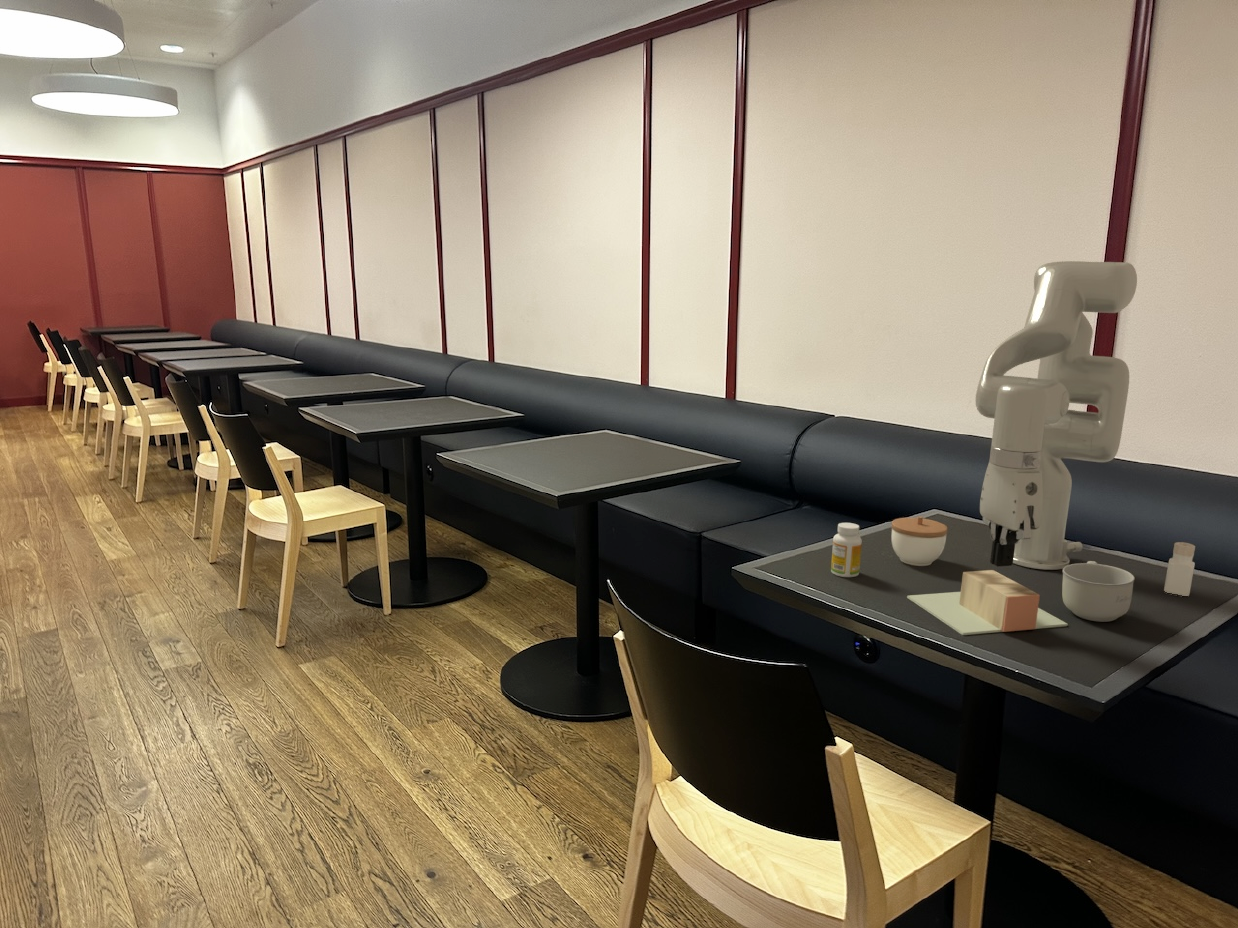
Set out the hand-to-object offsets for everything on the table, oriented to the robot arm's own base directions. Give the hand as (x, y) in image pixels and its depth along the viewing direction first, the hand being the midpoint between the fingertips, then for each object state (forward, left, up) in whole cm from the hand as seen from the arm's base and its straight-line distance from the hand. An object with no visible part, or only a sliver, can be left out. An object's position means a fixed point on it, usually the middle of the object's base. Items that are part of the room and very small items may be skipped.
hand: (1001, 564), depth 146 cm
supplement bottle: (+15, -25, -10) cm, 31 cm away
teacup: (-19, +1, -10) cm, 21 cm away
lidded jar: (-3, -29, -10) cm, 31 cm away
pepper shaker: (-42, -4, -10) cm, 43 cm away
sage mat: (0, -3, -10) cm, 10 cm away
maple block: (0, +6, -6) cm, 9 cm away
